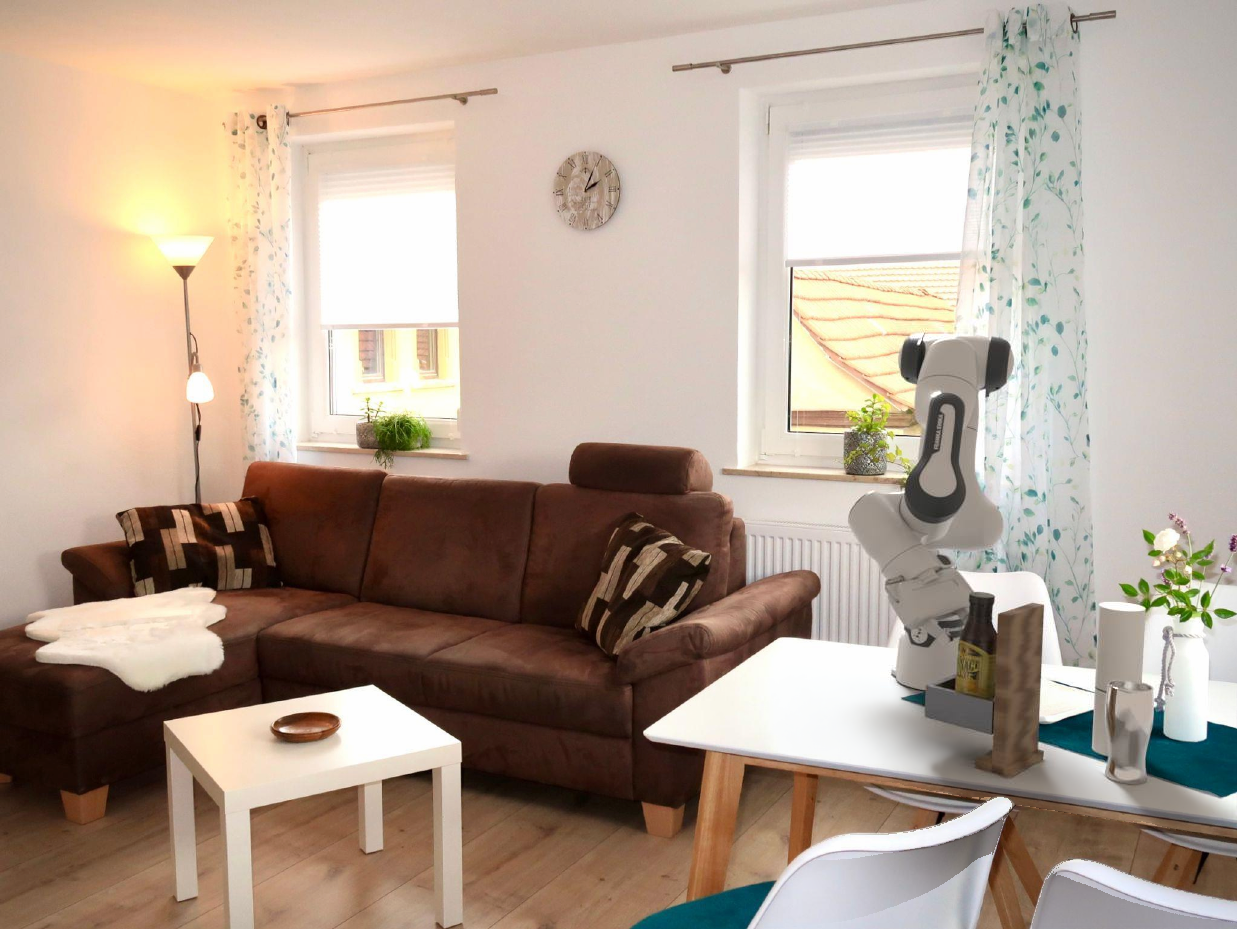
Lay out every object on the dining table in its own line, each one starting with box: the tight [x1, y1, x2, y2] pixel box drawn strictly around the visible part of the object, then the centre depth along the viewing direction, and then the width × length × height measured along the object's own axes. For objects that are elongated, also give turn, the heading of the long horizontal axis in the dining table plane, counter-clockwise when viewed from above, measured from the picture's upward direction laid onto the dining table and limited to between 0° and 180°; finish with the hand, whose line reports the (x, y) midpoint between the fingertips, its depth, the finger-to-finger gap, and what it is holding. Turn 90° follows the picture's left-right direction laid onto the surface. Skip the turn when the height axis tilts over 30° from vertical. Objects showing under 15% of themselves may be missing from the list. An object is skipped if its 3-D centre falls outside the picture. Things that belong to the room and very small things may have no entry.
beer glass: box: [1104, 680, 1155, 786], centre depth 170 cm, size 7×7×15 cm
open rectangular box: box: [924, 674, 995, 736], centre depth 180 cm, size 11×12×6 cm
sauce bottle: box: [955, 591, 997, 699], centre depth 180 cm, size 7×6×20 cm
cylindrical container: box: [1091, 601, 1147, 757], centre depth 182 cm, size 7×7×25 cm
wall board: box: [973, 602, 1045, 779], centre depth 175 cm, size 12×6×26 cm, turn 134°
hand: (962, 638), depth 181 cm, fingers open, 8 cm apart
